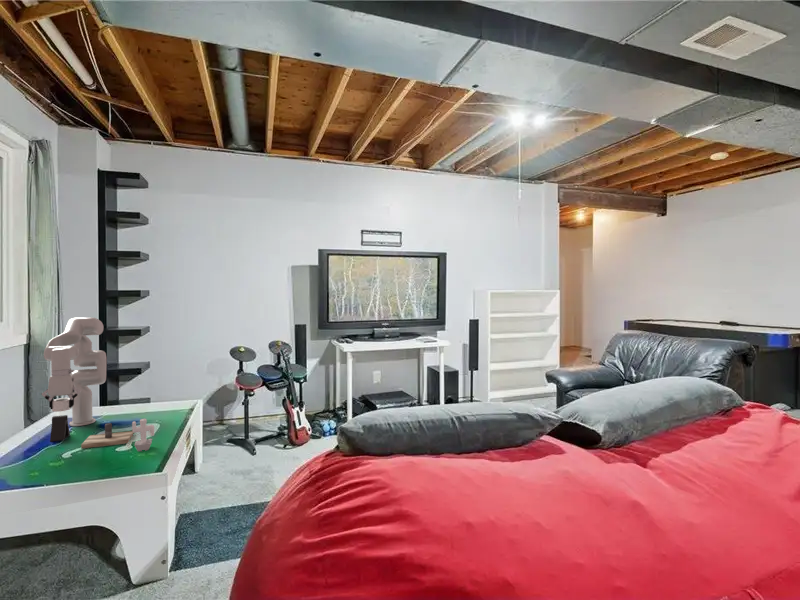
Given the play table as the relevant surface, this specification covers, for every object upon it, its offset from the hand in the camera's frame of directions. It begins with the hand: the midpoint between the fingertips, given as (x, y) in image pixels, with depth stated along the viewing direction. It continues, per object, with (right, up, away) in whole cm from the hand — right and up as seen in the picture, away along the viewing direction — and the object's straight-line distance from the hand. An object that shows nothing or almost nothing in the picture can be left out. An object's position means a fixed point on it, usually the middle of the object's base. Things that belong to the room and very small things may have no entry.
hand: (61, 407), depth 216 cm
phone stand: (-10, -19, +12) cm, 25 cm away
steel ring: (0, -1, 0) cm, 1 cm away
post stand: (+18, -19, +8) cm, 28 cm away
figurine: (+43, -20, -3) cm, 48 cm away
